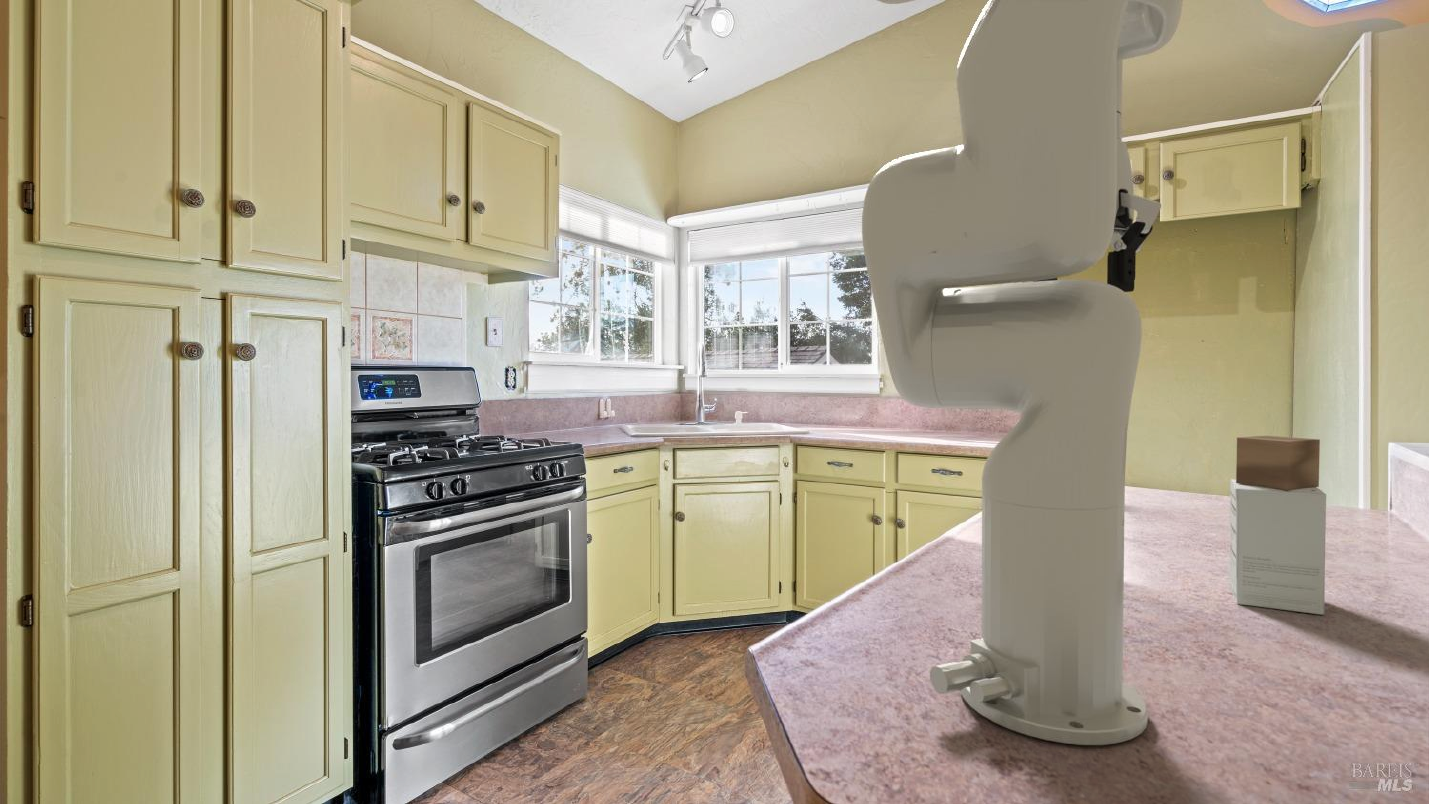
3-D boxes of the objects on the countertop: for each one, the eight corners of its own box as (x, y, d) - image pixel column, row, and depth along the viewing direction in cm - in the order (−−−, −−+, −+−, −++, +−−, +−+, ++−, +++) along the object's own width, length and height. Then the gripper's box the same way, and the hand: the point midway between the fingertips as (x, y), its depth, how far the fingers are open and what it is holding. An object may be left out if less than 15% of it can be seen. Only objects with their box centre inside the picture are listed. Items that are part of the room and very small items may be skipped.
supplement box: (1311, 596, 75) (1313, 482, 74) (1325, 617, 69) (1328, 492, 68) (1227, 586, 79) (1229, 477, 78) (1233, 604, 73) (1235, 486, 72)
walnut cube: (1287, 490, 70) (1288, 441, 70) (1236, 483, 75) (1236, 437, 75) (1318, 486, 72) (1319, 439, 72) (1266, 480, 76) (1267, 435, 76)
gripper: (996, 160, 82) (995, 303, 82) (1131, 106, 66) (1129, 285, 66) (1043, 166, 84) (1042, 305, 85) (1184, 116, 68) (1181, 288, 69)
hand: (1080, 296), depth 76 cm, fingers open, 9 cm apart
